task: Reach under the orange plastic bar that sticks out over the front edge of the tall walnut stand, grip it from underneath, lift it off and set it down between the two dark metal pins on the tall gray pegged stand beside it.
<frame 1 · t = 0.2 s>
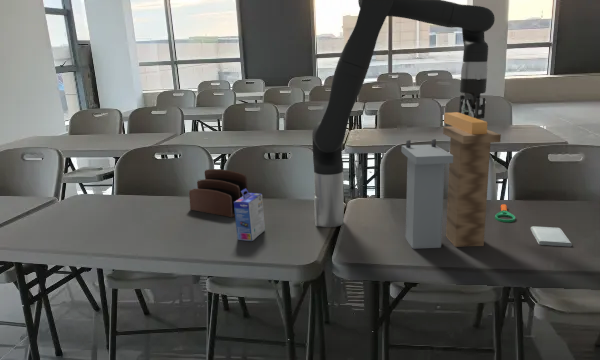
hand: (469, 130, 152), 29 cm above the table, tool pointing down, fingers open, 8 cm apart
orange bar: (463, 127, 137), point 32 cm above the table, touching tall walnut stand
letter holder: (219, 210, 176), on the table
tall gray pegged stand: (422, 242, 140), on the table
hard drive: (549, 239, 141), on the table
magnifying glass: (504, 216, 161), on the table
ink cartridge box: (251, 235, 150), on the table
tall walnut stand: (464, 240, 140), on the table
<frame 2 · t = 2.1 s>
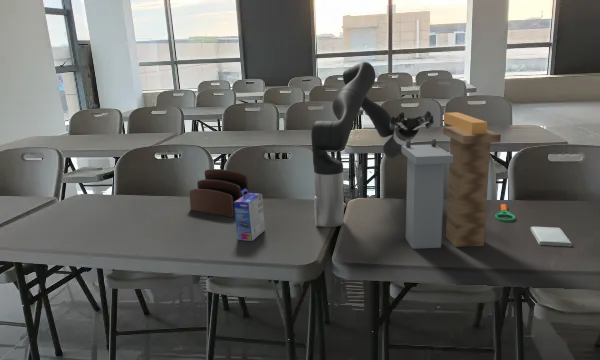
hand: (416, 114, 161), 33 cm above the table, tool pointing upward, fingers open, 8 cm apart
nothing on the table moved.
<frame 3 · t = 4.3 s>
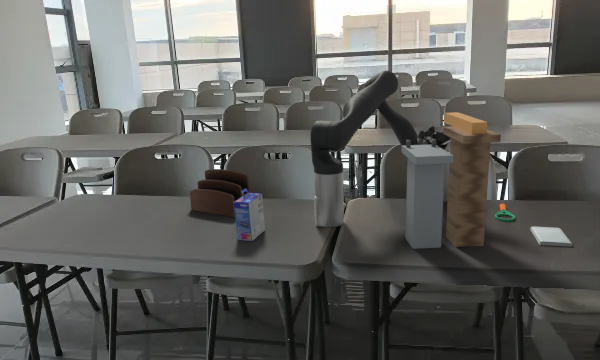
hand: (447, 128, 151), 30 cm above the table, tool pointing upward, fingers open, 8 cm apart
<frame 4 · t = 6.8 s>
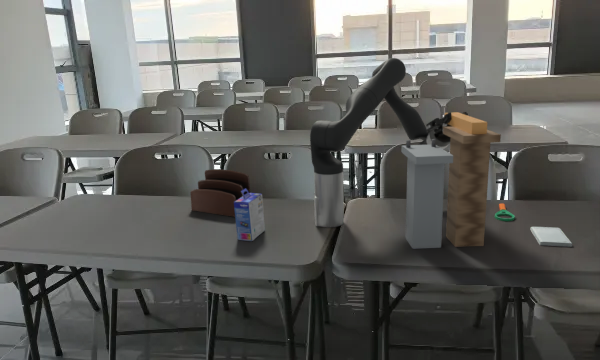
hand: (458, 115, 141), 35 cm above the table, tool pointing upward, fingers closed on orange bar, 4 cm apart
orange bar: (463, 127, 137), point 32 cm above the table, touching gripper, tall walnut stand
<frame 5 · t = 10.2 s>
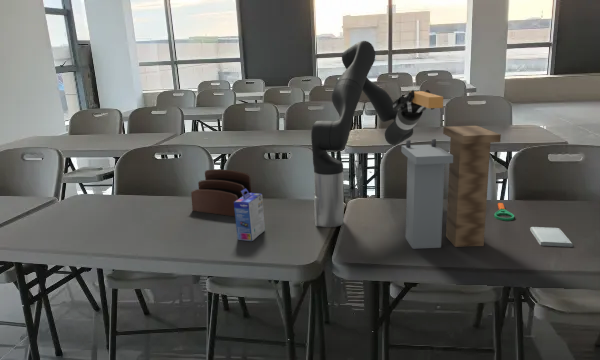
hand: (420, 93, 149), 41 cm above the table, tool pointing upward, fingers closed on orange bar, 4 cm apart
orange bar: (424, 104, 144), point 38 cm above the table, touching gripper
when the fingers open (31 cm above the table, at t = 14.0 s): orange bar drops 1 cm, resting on tall gray pegged stand.
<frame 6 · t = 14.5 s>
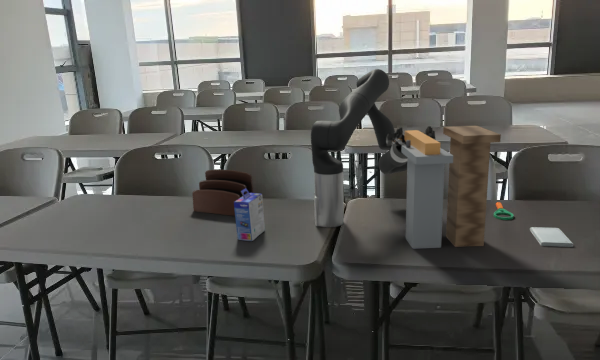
hand: (415, 129, 142), 31 cm above the table, tool pointing upward, fingers open, 8 cm apart
orange bar: (420, 146, 138), point 27 cm above the table, touching tall gray pegged stand
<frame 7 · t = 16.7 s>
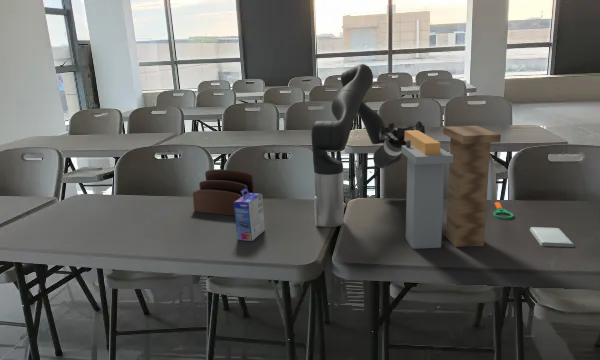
hand: (406, 124, 153), 31 cm above the table, tool pointing upward, fingers open, 8 cm apart
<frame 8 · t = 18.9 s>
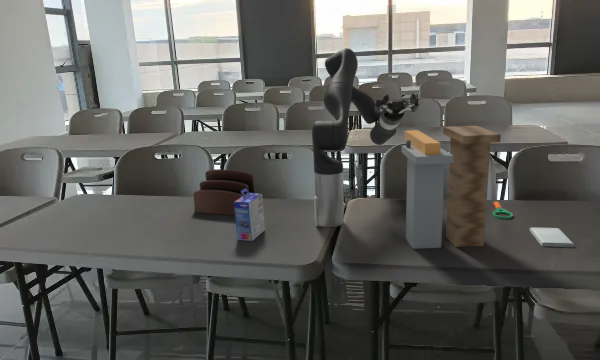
hand: (400, 96, 159), 39 cm above the table, tool pointing upward, fingers open, 8 cm apart
at the end: orange bar 0.1 cm from the target spot, point 27.0 cm above the table; the gripper is holding nothing; orange bar tilted 0° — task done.
